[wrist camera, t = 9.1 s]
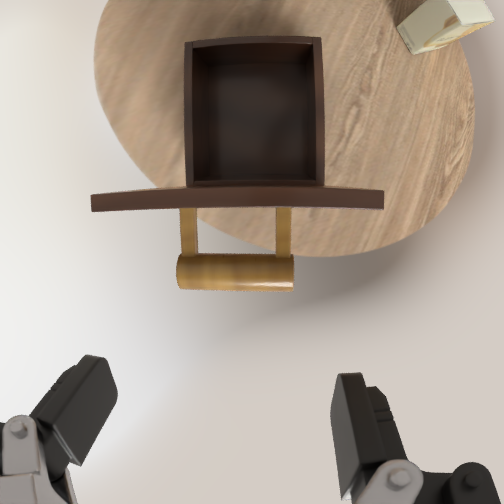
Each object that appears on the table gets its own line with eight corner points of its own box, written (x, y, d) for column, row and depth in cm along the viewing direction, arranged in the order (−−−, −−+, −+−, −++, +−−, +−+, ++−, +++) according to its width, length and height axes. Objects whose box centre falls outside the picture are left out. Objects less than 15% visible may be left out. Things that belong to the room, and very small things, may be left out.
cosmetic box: (411, 56, 28) (460, 26, 16) (394, 27, 27) (436, -12, 15) (446, 47, 27) (498, 21, 15) (430, 19, 26) (476, -14, 14)
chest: (202, 62, 31) (184, 42, 23) (311, 59, 30) (321, 37, 22) (204, 181, 35) (186, 190, 28) (313, 181, 34) (324, 189, 27)
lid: (90, 194, 12) (101, 300, 13) (384, 190, 11) (375, 307, 12) (184, 186, 27) (186, 240, 28) (325, 185, 26) (323, 241, 27)
